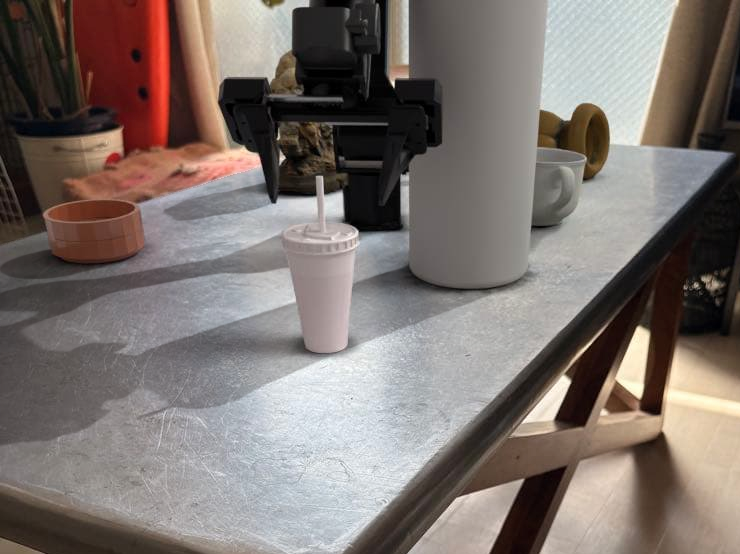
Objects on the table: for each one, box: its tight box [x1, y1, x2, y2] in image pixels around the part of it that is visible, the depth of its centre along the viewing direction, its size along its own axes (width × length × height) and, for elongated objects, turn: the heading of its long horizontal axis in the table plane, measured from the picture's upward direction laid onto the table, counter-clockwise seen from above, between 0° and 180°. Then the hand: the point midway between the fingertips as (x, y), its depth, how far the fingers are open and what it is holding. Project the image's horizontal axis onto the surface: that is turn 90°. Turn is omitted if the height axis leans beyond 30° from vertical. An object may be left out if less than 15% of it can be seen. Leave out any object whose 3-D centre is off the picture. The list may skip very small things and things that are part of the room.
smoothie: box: [280, 176, 360, 354], centre depth 73 cm, size 6×6×14 cm
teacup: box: [531, 147, 587, 227], centre depth 106 cm, size 14×11×8 cm
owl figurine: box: [269, 48, 347, 195], centre depth 121 cm, size 18×12×17 cm, turn 165°
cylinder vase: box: [408, 0, 549, 290], centre depth 86 cm, size 12×12×25 cm
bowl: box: [42, 198, 147, 264], centre depth 98 cm, size 10×10×4 cm
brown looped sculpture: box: [537, 102, 611, 180], centre depth 127 cm, size 18×13×22 cm
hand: (326, 202), depth 74 cm, fingers open, 9 cm apart
